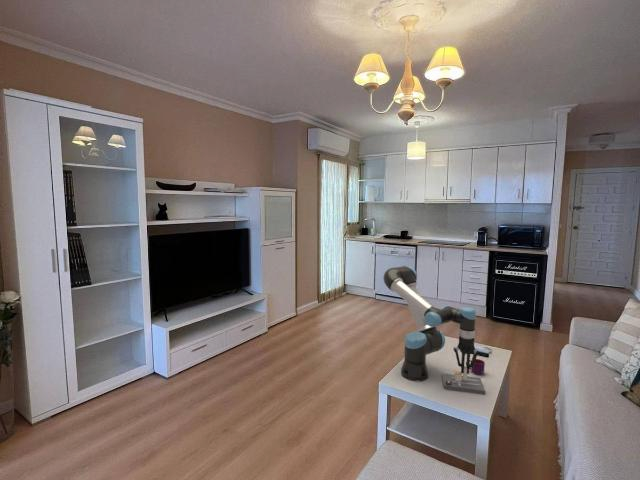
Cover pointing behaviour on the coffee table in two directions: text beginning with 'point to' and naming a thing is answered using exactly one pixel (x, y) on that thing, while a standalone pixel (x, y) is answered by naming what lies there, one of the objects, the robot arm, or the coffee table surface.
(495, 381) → the coffee table surface
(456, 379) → the fader
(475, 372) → the mug
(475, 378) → the console
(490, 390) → the coffee table surface
